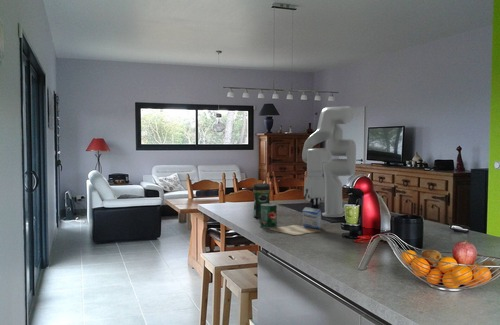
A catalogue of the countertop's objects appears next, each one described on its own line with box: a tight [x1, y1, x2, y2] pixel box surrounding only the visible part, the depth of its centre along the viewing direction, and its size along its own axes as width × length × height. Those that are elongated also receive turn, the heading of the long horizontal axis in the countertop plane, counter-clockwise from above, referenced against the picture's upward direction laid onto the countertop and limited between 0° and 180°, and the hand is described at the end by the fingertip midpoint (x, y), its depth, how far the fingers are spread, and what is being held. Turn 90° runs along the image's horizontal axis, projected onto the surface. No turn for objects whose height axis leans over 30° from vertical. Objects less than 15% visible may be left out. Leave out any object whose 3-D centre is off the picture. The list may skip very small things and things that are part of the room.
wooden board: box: [269, 224, 321, 237], centre depth 213 cm, size 16×18×1 cm
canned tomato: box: [260, 202, 278, 229], centre depth 223 cm, size 8×8×11 cm
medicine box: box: [301, 206, 322, 230], centre depth 218 cm, size 8×4×9 cm, turn 62°
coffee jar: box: [252, 182, 271, 219], centre depth 251 cm, size 10×8×19 cm
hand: (314, 212), depth 220 cm, fingers closed
